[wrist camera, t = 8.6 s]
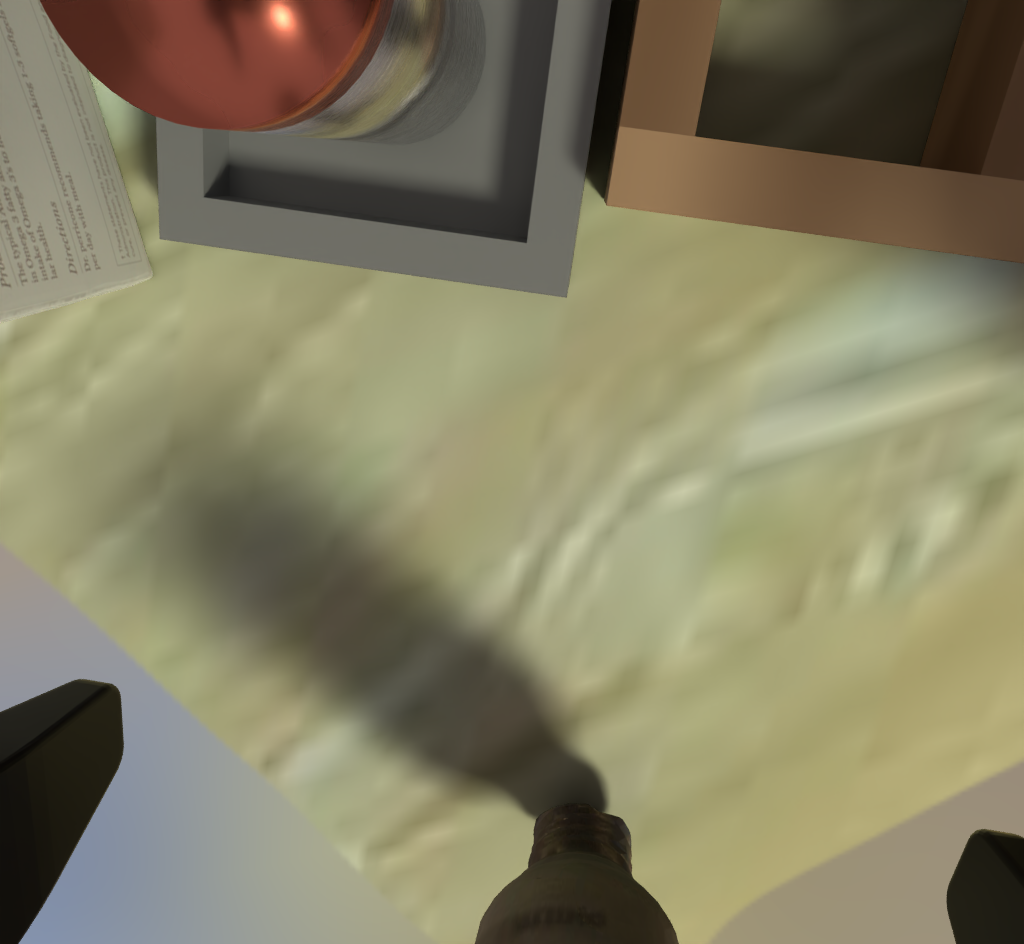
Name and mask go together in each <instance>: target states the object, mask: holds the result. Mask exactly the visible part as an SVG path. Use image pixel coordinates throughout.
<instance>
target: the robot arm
mask: <svg viewBox="0 0 1024 944" xmlns="http://www.w3.org/2000/svg"><path fill="white" fill-rule="evenodd" d="M123 748H124V741H123V725H122V708H121V696H120V692H119V690H118V688H117V687H116V686H114V685H113V684H110V683H104V682H97V681H92V680H86V679H78V680H74V681H71V682H69V683H66V684H64V685H62V686H60V687H57V688H55V689H53V690H50V691H48V692H46V693H43V694H41V695H39V696H37V697H34V698H32V699H29V700H27V701H25V702H23V703H20V704H18V705H16V706H13V707H11V708H9V709H6V710H4V711H2V712H0V944H18V943H19V942H20V941H21V939H22V938H23V936H24V934H25V933H26V932H27V930H28V929H29V927H30V925H31V924H32V922H33V921H34V919H35V918H36V916H37V915H38V913H39V911H40V910H41V908H42V907H43V905H44V903H45V901H46V900H47V898H48V896H49V895H50V893H51V891H52V890H53V888H54V886H55V884H56V882H57V881H58V879H59V877H60V875H61V873H62V871H63V870H64V868H65V866H66V864H67V862H68V860H69V858H70V857H71V855H72V853H73V851H74V849H75V848H76V846H77V844H78V842H79V840H80V838H81V837H82V835H83V833H84V830H85V829H86V827H87V825H88V824H89V822H90V820H91V818H92V816H93V814H94V813H95V811H96V809H97V807H98V805H99V803H100V802H101V799H102V798H103V796H104V794H105V792H106V790H107V788H108V787H109V785H110V783H111V781H112V779H113V777H114V776H115V774H116V772H117V770H118V768H119V765H120V762H121V759H122V755H123ZM947 910H948V914H949V919H950V922H951V926H952V930H953V934H954V937H955V941H956V944H1024V838H1023V837H1021V836H1019V835H1016V834H1012V833H1005V832H1000V831H994V830H987V829H981V830H977V831H975V832H974V833H973V834H972V835H971V836H970V838H969V840H968V842H967V844H966V846H965V848H964V851H963V853H962V855H961V858H960V860H959V862H958V865H957V867H956V869H955V871H954V874H953V876H952V878H951V881H950V883H949V886H948V890H947Z"/></svg>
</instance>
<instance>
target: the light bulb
mask: <svg viewBox="0 0 1024 944" xmlns="http://www.w3.org/2000/svg"><path fill="white" fill-rule="evenodd" d="M631 857H632V854H631V835H630V832H629V829H628V828H627V826H626V824H625V823H624V821H623V819H621V818H619V817H616V816H613V815H609V814H606V813H602V812H598V811H597V810H596V809H594V808H593V807H591V806H590V805H588V804H564V805H560V806H556V807H554V808H552V809H549V810H547V811H546V812H544V813H543V814H541V815H540V816H539V817H538V818H537V819H536V823H535V827H534V844H533V846H532V853H531V855H530V858H529V862H528V869H526V870H525V871H524V872H523V873H522V874H521V875H520V876H519V877H517V878H516V879H515V880H513V881H512V882H511V883H509V884H508V885H507V886H506V887H504V889H503V890H502V891H501V892H500V893H499V894H498V895H497V896H496V897H495V898H494V900H493V901H492V903H491V904H490V906H489V908H488V909H487V911H486V912H485V914H484V916H483V918H482V920H481V922H480V926H479V930H478V934H477V938H476V942H475V944H679V943H678V939H677V936H676V932H675V930H674V928H673V926H672V924H671V922H670V920H669V919H668V917H667V915H666V914H665V912H664V911H663V909H662V908H661V906H660V905H659V903H658V902H657V901H656V900H655V899H654V898H653V897H652V896H651V895H650V894H649V893H648V892H647V891H646V890H645V889H644V887H642V886H641V885H640V884H639V883H637V882H636V881H635V880H634V879H633V877H632V874H631V872H632V865H631Z"/></svg>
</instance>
